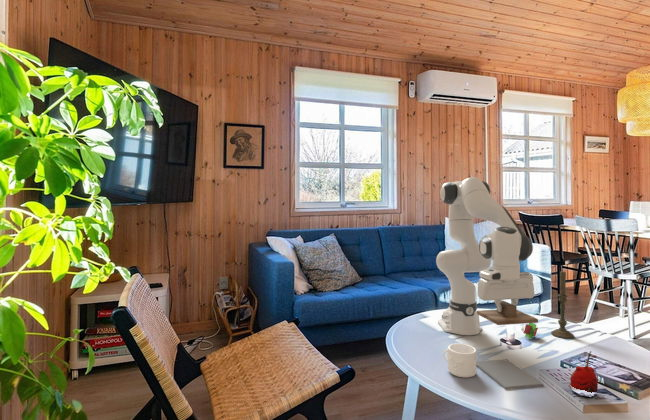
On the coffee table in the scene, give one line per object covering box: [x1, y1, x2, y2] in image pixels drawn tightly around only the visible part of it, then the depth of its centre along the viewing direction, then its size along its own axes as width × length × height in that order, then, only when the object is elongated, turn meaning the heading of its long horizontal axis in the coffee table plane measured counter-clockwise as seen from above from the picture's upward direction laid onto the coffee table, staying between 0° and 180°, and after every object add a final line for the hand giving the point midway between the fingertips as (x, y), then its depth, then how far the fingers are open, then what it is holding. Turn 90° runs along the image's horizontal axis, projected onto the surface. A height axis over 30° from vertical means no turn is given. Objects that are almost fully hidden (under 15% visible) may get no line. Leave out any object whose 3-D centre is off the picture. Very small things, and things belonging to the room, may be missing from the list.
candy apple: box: [569, 351, 599, 393], centre depth 123 cm, size 8×7×15 cm
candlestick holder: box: [550, 269, 575, 340], centre depth 175 cm, size 9×9×30 cm
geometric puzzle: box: [520, 323, 540, 340], centre depth 173 cm, size 7×7×8 cm
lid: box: [476, 300, 539, 326], centre depth 137 cm, size 13×15×5 cm
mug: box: [443, 343, 477, 379], centre depth 139 cm, size 12×10×9 cm
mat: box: [476, 358, 545, 390], centre depth 137 cm, size 20×14×1 cm
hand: (506, 311), depth 137 cm, fingers closed on lid, 3 cm apart
